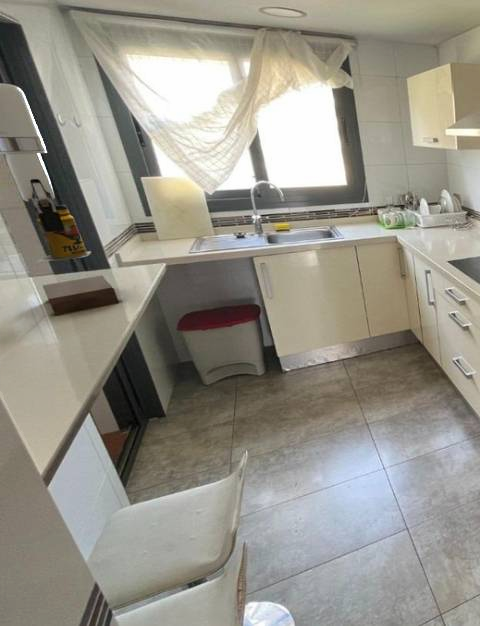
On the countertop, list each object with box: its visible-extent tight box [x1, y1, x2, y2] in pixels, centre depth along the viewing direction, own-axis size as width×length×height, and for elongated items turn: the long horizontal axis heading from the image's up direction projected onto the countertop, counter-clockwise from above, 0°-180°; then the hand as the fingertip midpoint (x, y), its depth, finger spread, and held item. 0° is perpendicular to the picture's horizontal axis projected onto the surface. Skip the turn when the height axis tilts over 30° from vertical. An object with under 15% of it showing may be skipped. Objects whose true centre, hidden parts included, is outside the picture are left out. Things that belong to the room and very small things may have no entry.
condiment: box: [34, 204, 92, 263], centre depth 107 cm, size 7×8×12 cm
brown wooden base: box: [42, 275, 120, 317], centre depth 112 cm, size 11×16×4 cm
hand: (53, 228), depth 106 cm, fingers closed on condiment, 6 cm apart
